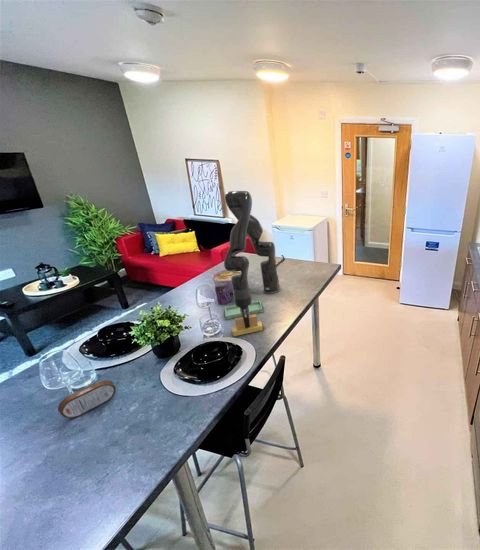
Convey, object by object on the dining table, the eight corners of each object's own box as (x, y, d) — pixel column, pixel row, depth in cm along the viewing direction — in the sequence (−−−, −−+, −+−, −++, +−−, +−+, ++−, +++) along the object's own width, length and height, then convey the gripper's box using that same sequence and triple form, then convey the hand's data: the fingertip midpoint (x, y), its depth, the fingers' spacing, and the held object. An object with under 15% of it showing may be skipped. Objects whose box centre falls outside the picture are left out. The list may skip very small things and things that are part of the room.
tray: (225, 310, 165) (224, 307, 164) (260, 303, 173) (260, 300, 172) (226, 319, 156) (225, 316, 156) (263, 311, 164) (262, 308, 163)
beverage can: (225, 305, 170) (222, 287, 165) (215, 304, 171) (211, 286, 166) (233, 299, 176) (229, 282, 171) (222, 298, 177) (219, 280, 172)
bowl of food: (207, 293, 182) (204, 277, 177) (232, 281, 199) (229, 265, 194) (232, 300, 175) (228, 283, 171) (255, 286, 192) (252, 271, 187)
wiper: (232, 331, 147) (230, 317, 144) (261, 325, 152) (259, 312, 149) (233, 336, 143) (230, 322, 139) (262, 330, 148) (261, 316, 145)
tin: (117, 391, 110) (109, 375, 107) (120, 395, 108) (112, 378, 105) (63, 419, 99) (52, 401, 95) (66, 424, 97) (55, 406, 94)
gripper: (251, 300, 135) (256, 331, 142) (248, 288, 147) (253, 317, 154) (234, 303, 132) (240, 334, 139) (232, 291, 144) (238, 320, 151)
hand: (247, 325), depth 146 cm, fingers closed on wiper, 2 cm apart
